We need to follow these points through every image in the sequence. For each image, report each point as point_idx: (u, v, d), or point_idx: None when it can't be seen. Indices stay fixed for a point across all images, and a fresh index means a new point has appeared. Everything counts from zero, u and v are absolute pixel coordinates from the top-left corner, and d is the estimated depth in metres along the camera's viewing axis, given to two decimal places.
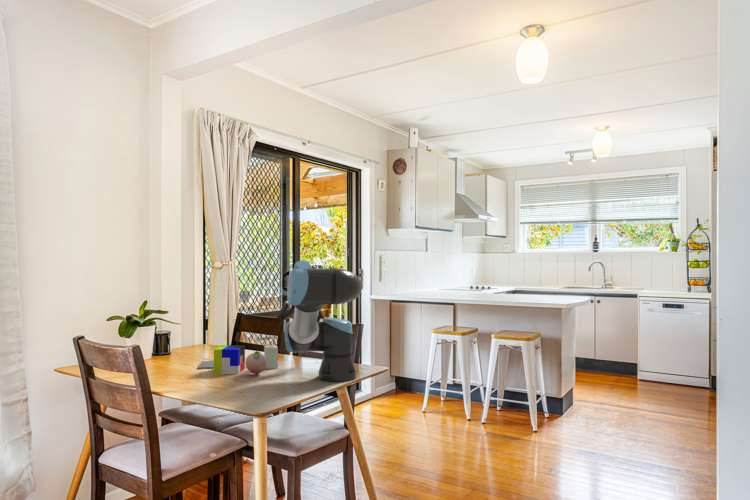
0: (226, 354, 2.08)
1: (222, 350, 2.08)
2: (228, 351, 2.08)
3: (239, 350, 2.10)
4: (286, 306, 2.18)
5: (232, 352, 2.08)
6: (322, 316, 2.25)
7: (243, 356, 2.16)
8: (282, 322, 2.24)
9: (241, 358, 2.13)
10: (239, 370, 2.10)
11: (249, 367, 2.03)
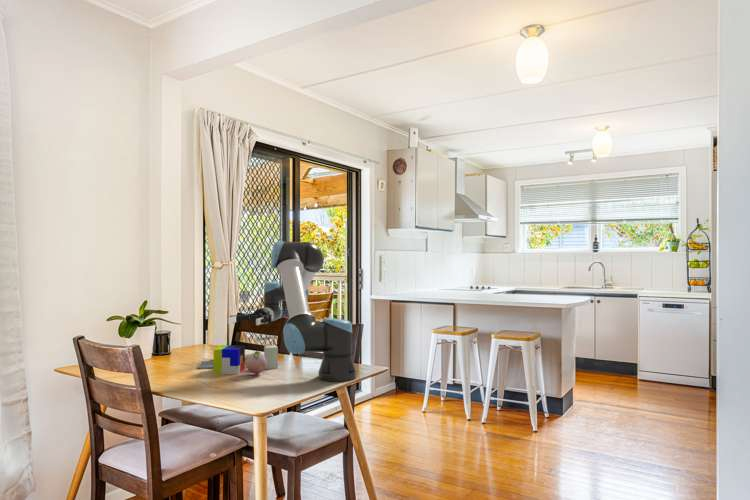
0: (226, 354, 2.08)
1: (222, 350, 2.08)
2: (228, 351, 2.08)
3: (239, 350, 2.10)
4: (245, 314, 2.40)
5: (232, 352, 2.08)
6: (270, 317, 2.31)
7: (243, 356, 2.16)
8: None
9: (241, 358, 2.13)
10: (239, 370, 2.10)
11: (249, 367, 2.03)
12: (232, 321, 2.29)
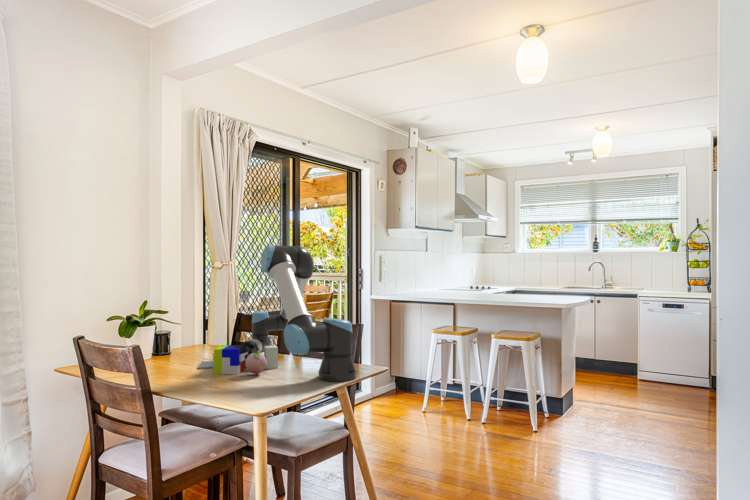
0: (226, 354, 2.08)
1: (222, 350, 2.08)
2: (228, 351, 2.08)
3: (239, 350, 2.10)
4: None
5: (232, 352, 2.08)
6: None
7: None
8: None
9: None
10: (239, 370, 2.10)
11: (249, 367, 2.03)
12: None
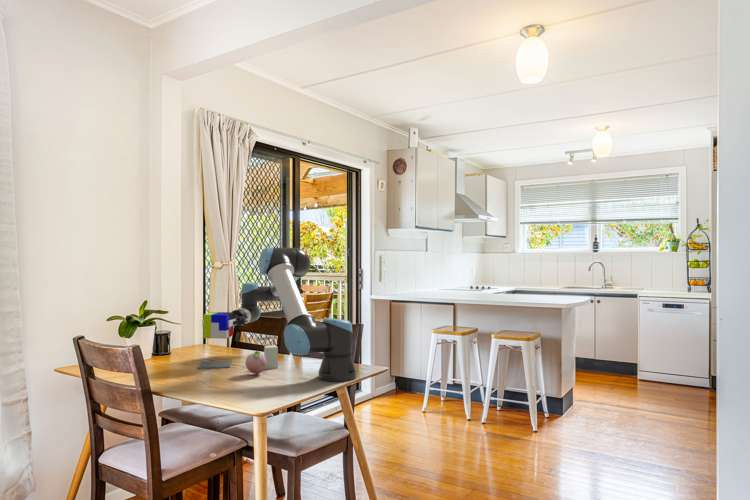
0: (215, 319, 2.17)
1: (211, 315, 2.18)
2: (217, 316, 2.17)
3: (228, 316, 2.19)
4: None
5: (221, 317, 2.17)
6: (243, 318, 2.27)
7: None
8: None
9: None
10: (228, 335, 2.19)
11: (249, 367, 2.03)
12: None
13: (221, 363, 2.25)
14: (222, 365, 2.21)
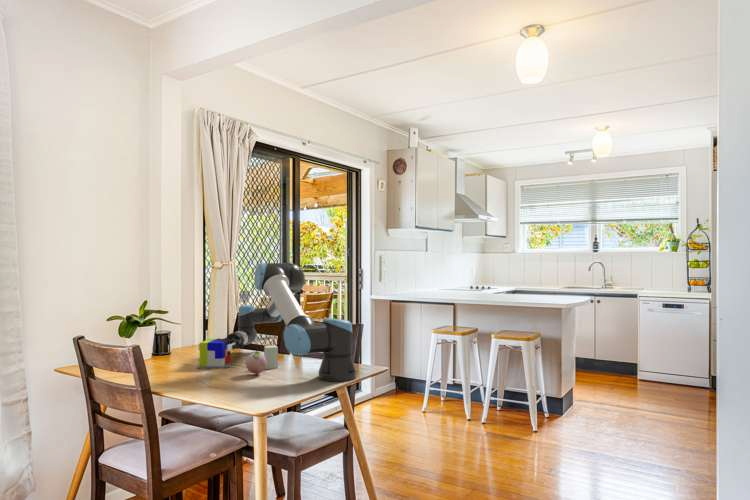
0: (211, 347, 2.19)
1: (207, 343, 2.20)
2: (213, 344, 2.19)
3: (224, 343, 2.21)
4: None
5: (217, 345, 2.19)
6: (242, 342, 2.29)
7: None
8: None
9: (226, 351, 2.24)
10: (224, 362, 2.21)
11: (249, 367, 2.03)
12: None
13: None
14: None
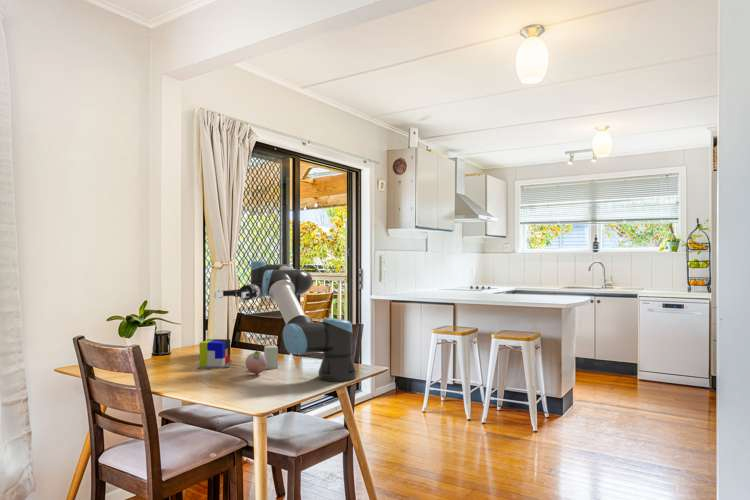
0: (211, 347, 2.19)
1: (207, 343, 2.20)
2: (213, 344, 2.19)
3: (224, 343, 2.21)
4: (231, 290, 2.52)
5: (217, 345, 2.19)
6: (255, 291, 2.42)
7: (228, 349, 2.27)
8: None
9: (226, 351, 2.24)
10: (224, 362, 2.21)
11: (249, 367, 2.03)
12: (219, 295, 2.40)
13: None
14: None
